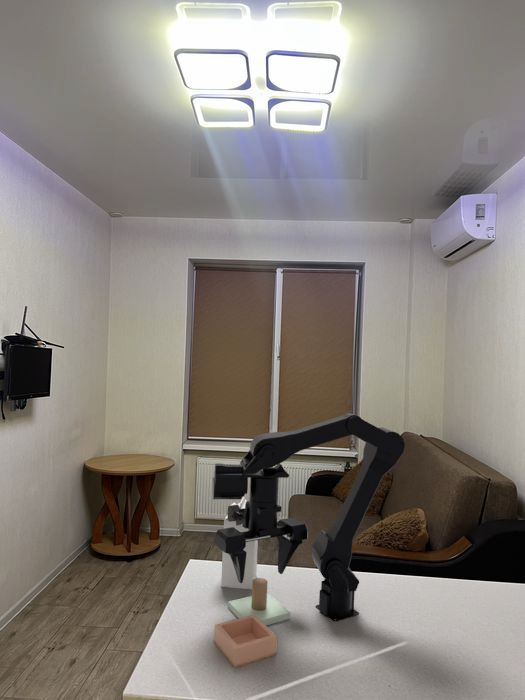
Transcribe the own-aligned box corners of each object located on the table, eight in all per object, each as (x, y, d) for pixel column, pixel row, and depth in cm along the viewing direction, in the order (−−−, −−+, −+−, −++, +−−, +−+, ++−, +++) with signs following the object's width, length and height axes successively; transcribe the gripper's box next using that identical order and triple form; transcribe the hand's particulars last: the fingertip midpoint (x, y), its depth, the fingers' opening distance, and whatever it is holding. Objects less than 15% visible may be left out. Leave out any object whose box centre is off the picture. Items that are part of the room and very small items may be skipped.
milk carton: (256, 577, 113) (260, 495, 113) (252, 591, 106) (256, 504, 106) (226, 574, 113) (230, 493, 114) (220, 588, 106) (224, 502, 107)
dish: (253, 633, 89) (254, 614, 90) (276, 657, 83) (277, 636, 83) (213, 644, 85) (214, 624, 86) (234, 670, 79) (235, 649, 79)
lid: (266, 597, 102) (267, 568, 102) (290, 618, 94) (291, 586, 94) (228, 607, 97) (229, 576, 98) (249, 629, 90) (251, 596, 90)
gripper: (281, 484, 108) (278, 554, 108) (204, 493, 99) (201, 570, 98) (310, 497, 98) (308, 574, 98) (228, 509, 89) (225, 594, 89)
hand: (260, 577), depth 96 cm, fingers open, 9 cm apart
